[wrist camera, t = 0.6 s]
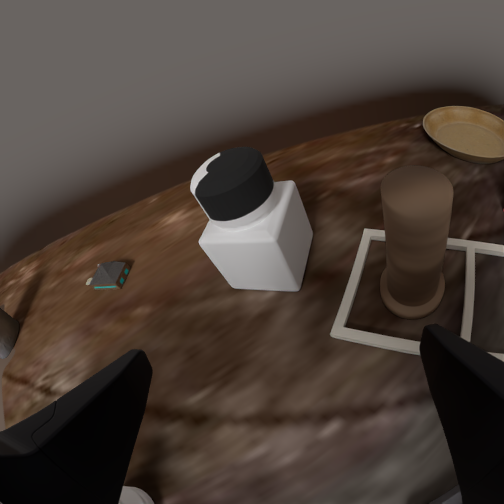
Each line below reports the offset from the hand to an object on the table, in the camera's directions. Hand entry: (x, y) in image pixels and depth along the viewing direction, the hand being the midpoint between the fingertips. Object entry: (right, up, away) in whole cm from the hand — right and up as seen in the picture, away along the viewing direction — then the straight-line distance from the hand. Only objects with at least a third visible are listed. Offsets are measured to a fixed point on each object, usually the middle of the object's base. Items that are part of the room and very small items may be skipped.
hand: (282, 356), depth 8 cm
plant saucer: (+29, +18, +21) cm, 40 cm away
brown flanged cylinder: (+12, 0, +13) cm, 18 cm away
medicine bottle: (+1, +2, +21) cm, 21 cm away
